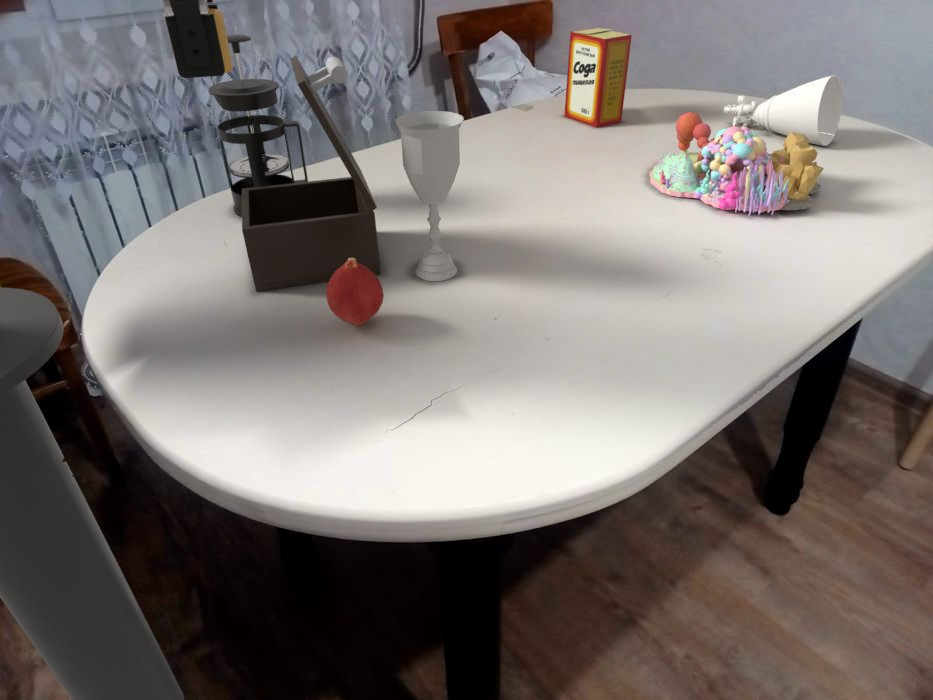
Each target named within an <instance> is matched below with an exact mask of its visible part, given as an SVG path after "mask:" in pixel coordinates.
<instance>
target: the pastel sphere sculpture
mask: <svg viewBox="0 0 933 700" xmlns="http://www.w3.org/2000/svg"><path fill="white" fill-rule="evenodd" d="M675 131H676V139H677V141H678V144H677V148H678V149H679V150H680V153H674V152H665V153H663V154H662V157H661V158H660V159H659V161H658V163H655V165H653V168H652V169H651V170H650V171H649V177H650V180H649V183H650V184H651V185H652V186H653V187H655V188H656V189H657V190H658V191H659V192H661V194H666V195H668V196H670V197H671V196H672V197H677V198H693V199H697V200H701V201H702V202H703V203H704V204H706V205H710V206H712V207H713V208H715V209H720V210H721V211H731V210H734V212H735V213H737V211H738V212H740V211H743V213H746V212H748V217H751V213H758V216H760V214H761V213H764V212H767V213H768V214H769V213H770V212H771V216H773V215H774V212H775V211H780V210H782V211H798V210H806V209H808V208H809V207H813V206H814V205H815V202H814V201H813V200H812V198H811V197H810V196H809V194H810V195H811V194H815V193H816V192H819V191H821V189H822V186H823V185H821V183H819V182H818V180H819V177H820V175H821V174H822V172H823V171H824V167H822V166H819V165H818V163H817V161H815V160H817V157H818V153H819V152H818V151H817V149H816V148H815V147H813V146H810V143H809V142H808V139H807V137H806V136H805V135H804V134H800V133H795V132H790V134H789V135H788V136H786V138H784V141H783V144H782V147H783V148H780V149H776V150H773V151H772V153H768V151H767V150H768V148H767V143H766V142H765V140H764V139H763V138H762V137H760V136H759V135H758V134H757V133H755V132H750V129H749V127H748V126H747V127H743V128H742V129H741V127H740V126H738V125H737V126H733V125H732V126H730V127H728V128H726V127H725V128H722V129H720V130H718V132H717V133H716V134H715V137H713V138H712V139H710V140H709V138H710V137H711V134H712V129H711V126H710V125H709V124H707V123H705V122H704V121H703V119H702V116H701V115H700V114H698V113H696V112H694V111H688V112H684V113H683V114H681V115H680V116H679V117H678V118H677V120H676V124H675ZM694 139H695V140H696V145H697V147H698V148H699V149H700V150H701V151H699V152H693V151H692V152H691V151H690V152H688V149H689V148H690V147H691V142H692V141H694Z"/></svg>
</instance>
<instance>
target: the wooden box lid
mask: <svg viewBox="0 0 933 700" xmlns="http://www.w3.org/2000/svg"><path fill="white" fill-rule="evenodd" d="M290 64H291V67H292V70H293V72H294V76H295V80H296V83H297V86H298V88H299V89H300V91H301V93H302V95H303V96H304V98H305V100H306V101H307V103H308V105H309V107H310V109H311V111H312V112H313V114H314V115H315V117H316V119H317V120H318V123H319V124H320V126H321V127H322V129H323V131H324V133H325V134H326V136H327V137H328V140H329V141H330V143H331V145H332V146H333V148H334V150H335V152H336V153H337V155H338V157H339V159H340V160H341V162H342V164H343V166H344V167H345V169H346V170H347V172H348V174H349V175H350V176H349V177H352V179H353V181H354V182H355V184H356V186H357V188H358V189H359V191H360V193H361V194H362V196H363V198H364V200H365V201H366V203H367V205H368V207H369V208H370V210H371V211H374V210H376V209H378V206H377V204H376V202H375V199H374V197H373V194H372V192H371V190H370V188H369V185H368V183H367V181H366V179H365V176H364V174H363V172H362V169H361V168H360V166H359V164H358V162H357V161H356V159H355V157H354V155H353V154H352V151H351V149H350V148H349V146H348V144H347V142H346V140H345V139H344V137H343V136H342V134H341V132H340V131H339V129H338V126H337V125H336V123H335V121H334V120H333V117H332V116H331V115H330V113H329V111H328V109H327V107H326V106H325V104H324V102H323V100H322V98H321V96H320V95H319V93H318V92H317V91H320V90H321V89H323V88H325V87H326V86H329V85H331V84H332V83H335V84H338V85H341V84H344V83H346V81H347V80H348V77H349V74H348V73H349V72H348V71H347V68H346V67H345V65H344V63H343V62H342V60H341V59H340V58H339V57H338V56H330V57H328V58H327V60H326V62H325V66H324V67H322V68H320V69H318V70H316V71H315V72H313V73H311V74H310V75H308V74H307V71H306V70H305V69H304V67H303V65H302V63H301V62H300V60H299V58H298V57H297V55H295V56H293V57H291V58H290Z"/></svg>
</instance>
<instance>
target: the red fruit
mask: <svg viewBox="0 0 933 700" xmlns="http://www.w3.org/2000/svg"><path fill="white" fill-rule="evenodd" d="M327 282H328V283H327V284H326V290H325V296H326V302H327V305H328V308H329V310H330V311H331V312H332V313H333V314H334V316H336V317H337V318H338V319H339V320H341V321H343V322H346V323H349V324H351V325H353V326H354V327H362V326H364V325H365V324H366V322H368V321H370V320H371V318H373V317H374V316H375V315H376V314H377V313H378V311H379V310H380V309H381V306H382V305H383V303H384V297H385V296H384V290H383V287H382V283H381V281H380V278H379V277H378V276H377V274H376V275H375V274H374V273H373V272H372V271H371V270H370V269H369V268H367V267H366V266H364V265H362V264H359V263H357V261H356V259H355V258H349V259H348V260H347V262H346V263H345V264H344V265H342V266H341V267H340V268H338V269H337V270H336V271H335V272H334V274H333V276H332V277H331V279H330V281H327Z"/></svg>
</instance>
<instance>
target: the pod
mask: <svg viewBox="0 0 933 700" xmlns="http://www.w3.org/2000/svg"><path fill="white" fill-rule="evenodd" d="M208 9H209V14H214V18H215V22H216V27H217V32H218V37H219V42H220V47H221V52H222V56H223V61H224V66H225V72H224V74H227V73H230V72H231V71H233V69H234V64H233V59H232V55H231V49H230V45H229V44H230V43H228V39H227V36H228V35H227V29H226V25H225V19H224V14H223V11H222V10H221V9H219V8H218V9H210V8H208ZM163 16H164V18H165V16H166V12H164V14H163ZM164 21H165V22H166V20H165V19H164ZM165 24H166V23H165ZM165 26H167V24H166V25H165ZM166 29H167V30H168V28H167V27H166ZM167 33H168V34H169V32H168V31H167ZM168 37H169V38H170V36H169V35H168ZM171 49H172V48H171ZM172 51H173V49H172ZM172 53H173V52H172ZM173 55H174V53H173ZM173 57H174V56H173ZM174 59H175V57H174ZM174 61H175V60H174ZM175 63H176V61H175ZM175 65H176V64H175ZM176 67H177V65H176ZM176 71H178V69H177V68H176Z"/></svg>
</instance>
